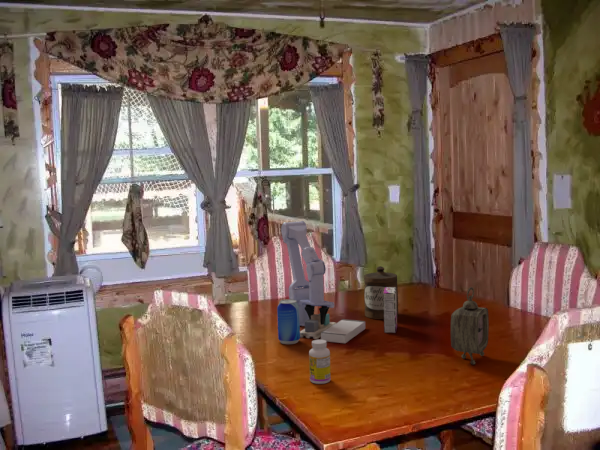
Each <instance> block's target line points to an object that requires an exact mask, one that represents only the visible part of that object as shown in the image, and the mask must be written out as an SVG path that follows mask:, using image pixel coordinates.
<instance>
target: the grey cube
mask: <svg viewBox="0 0 600 450" xmlns="http://www.w3.org/2000/svg"><path fill="white" fill-rule="evenodd" d="M304 329H305V332H316V331H317V330H318V320H311V319H309V320H307V321H305V326H304Z"/></svg>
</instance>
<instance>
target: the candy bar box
mask: <svg viewBox="0 0 600 450" xmlns="http://www.w3.org/2000/svg"><path fill="white" fill-rule="evenodd" d="M383 306H384V319H383V332H384V333H385V334H396V332H397V328H398V316H397V301H396V288H395V287H385V289H384V292H383Z"/></svg>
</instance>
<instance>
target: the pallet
mask: <svg viewBox="0 0 600 450" xmlns="http://www.w3.org/2000/svg"><path fill="white" fill-rule="evenodd" d="M319 314H320V313H314V315H312V316H311V320H318V330H317V331H316V332H305V328H303V329H302V330H300V339H302V338H304V337H305V338H306V339H310V338H311V339H314V340H319V338H321V332H323V331H325V330H327V329H328V328H330V327H331V326H333V325H335V324H336V323H337V322H334V321H330V323H329V324H328V325H326V326H324V324H323V325H321V318H320V315H319Z"/></svg>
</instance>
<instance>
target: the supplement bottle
mask: <svg viewBox="0 0 600 450" xmlns="http://www.w3.org/2000/svg"><path fill="white" fill-rule="evenodd" d="M327 345H328V341H326V340H321V339H314V340H312V341H311V346H312V348H311V349H309V351H308V360H309V362H308V363H309V364H308V365H309V368H308V369H309V381H310V382H311V383H312V384H316V385H324V384H328V383H330V381H331V380H332V379H331V378H332V377H331V373H332V372H331V352H330V349H329V348H327Z"/></svg>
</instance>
